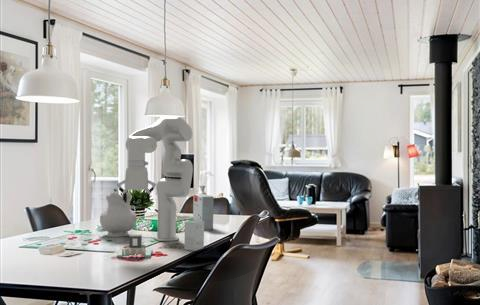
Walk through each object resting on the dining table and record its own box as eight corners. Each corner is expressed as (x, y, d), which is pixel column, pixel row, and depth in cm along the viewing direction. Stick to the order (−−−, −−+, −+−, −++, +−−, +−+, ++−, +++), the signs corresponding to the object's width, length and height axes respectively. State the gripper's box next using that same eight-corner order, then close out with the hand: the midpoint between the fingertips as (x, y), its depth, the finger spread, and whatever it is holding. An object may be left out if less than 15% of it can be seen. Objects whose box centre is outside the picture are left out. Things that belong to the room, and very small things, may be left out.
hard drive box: (192, 226, 314) (193, 194, 314) (204, 226, 317) (204, 194, 317) (201, 230, 300) (202, 196, 300) (213, 229, 303) (214, 196, 303)
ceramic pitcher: (93, 235, 281) (91, 190, 280) (126, 230, 293) (124, 186, 291) (109, 241, 264) (106, 193, 262) (143, 235, 275) (141, 189, 274)
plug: (130, 250, 227) (130, 234, 227) (141, 250, 228) (141, 234, 228) (128, 252, 222) (129, 236, 222) (140, 252, 223) (140, 236, 223)
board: (121, 251, 232) (121, 243, 232) (152, 251, 233) (152, 243, 233) (116, 258, 218) (116, 249, 218) (150, 257, 219) (150, 249, 219)
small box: (192, 246, 247) (193, 219, 247) (204, 248, 244) (204, 220, 244) (183, 249, 240) (184, 221, 240) (195, 250, 237) (196, 222, 237)
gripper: (156, 164, 236) (156, 201, 236) (118, 164, 234) (117, 201, 234) (155, 165, 228) (155, 203, 229) (115, 165, 226) (115, 203, 227)
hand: (136, 202), depth 232 cm, fingers open, 9 cm apart
